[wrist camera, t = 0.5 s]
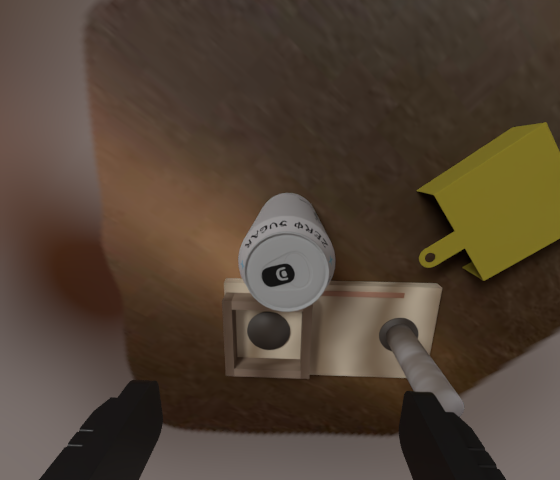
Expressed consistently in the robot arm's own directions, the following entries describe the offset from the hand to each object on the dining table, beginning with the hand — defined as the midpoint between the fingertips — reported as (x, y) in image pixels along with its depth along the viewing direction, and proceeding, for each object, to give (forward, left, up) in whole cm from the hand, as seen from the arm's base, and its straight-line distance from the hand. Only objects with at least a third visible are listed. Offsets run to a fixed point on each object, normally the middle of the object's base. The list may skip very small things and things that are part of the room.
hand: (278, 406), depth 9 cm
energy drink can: (0, -2, -22) cm, 22 cm away
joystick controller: (-5, +11, -22) cm, 25 cm away
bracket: (-19, -3, -23) cm, 30 cm away
